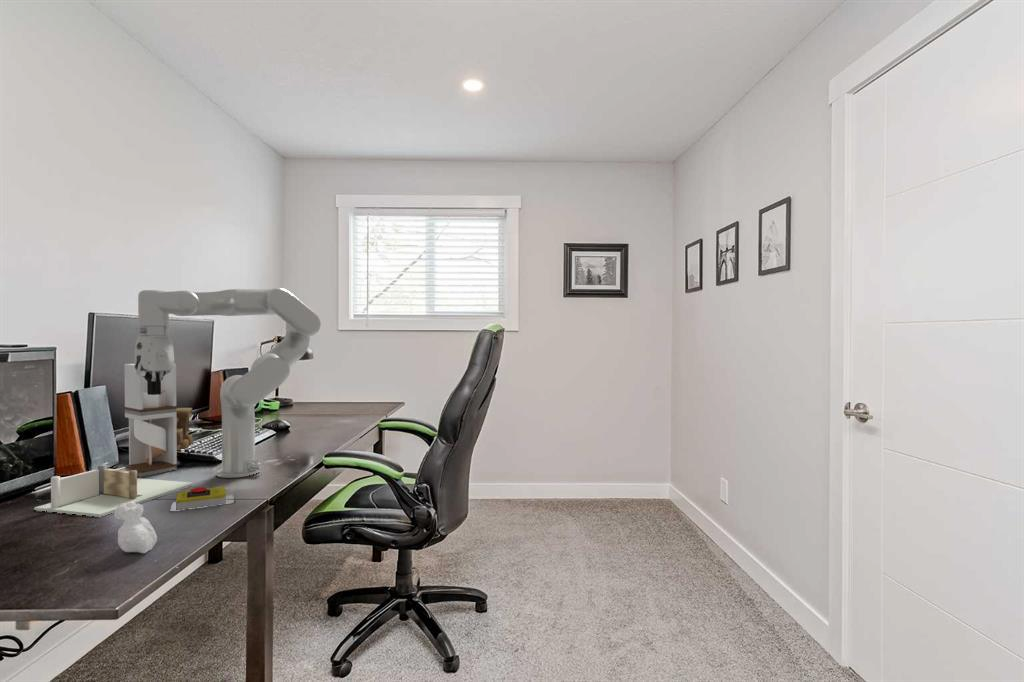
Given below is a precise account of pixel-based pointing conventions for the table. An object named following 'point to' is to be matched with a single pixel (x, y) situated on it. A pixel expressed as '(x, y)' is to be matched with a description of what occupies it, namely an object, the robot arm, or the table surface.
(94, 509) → the board
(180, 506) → the emergency button
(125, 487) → the wooden panel
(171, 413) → the white wooden-base stand
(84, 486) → the fixed fence section
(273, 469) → the table surface
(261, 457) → the table surface
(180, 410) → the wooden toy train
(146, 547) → the white tied sack
